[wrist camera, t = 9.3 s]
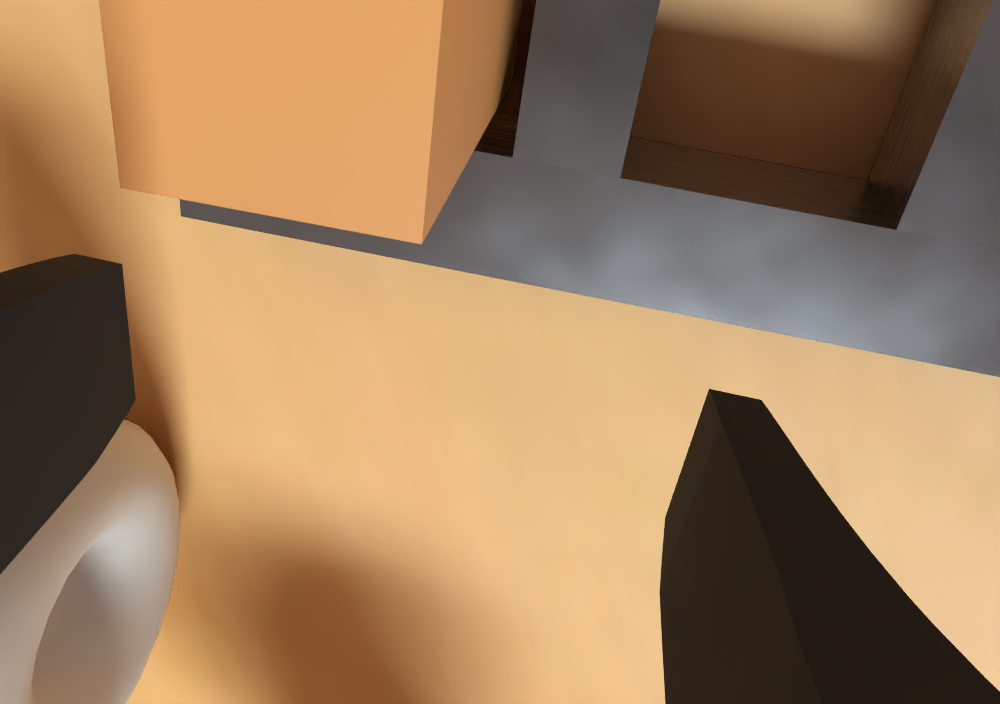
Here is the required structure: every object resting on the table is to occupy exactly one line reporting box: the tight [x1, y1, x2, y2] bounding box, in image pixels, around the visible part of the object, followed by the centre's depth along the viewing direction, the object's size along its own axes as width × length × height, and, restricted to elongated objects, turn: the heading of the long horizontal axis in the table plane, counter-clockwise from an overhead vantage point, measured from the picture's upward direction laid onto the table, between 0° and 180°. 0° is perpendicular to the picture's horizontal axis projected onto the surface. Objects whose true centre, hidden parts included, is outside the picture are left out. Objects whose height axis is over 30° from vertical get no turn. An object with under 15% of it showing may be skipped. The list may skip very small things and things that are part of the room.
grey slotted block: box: [180, 0, 1000, 377], centre depth 15 cm, size 22×10×2 cm, turn 82°
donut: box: [0, 419, 180, 704], centre depth 21 cm, size 10×4×10 cm, turn 171°
